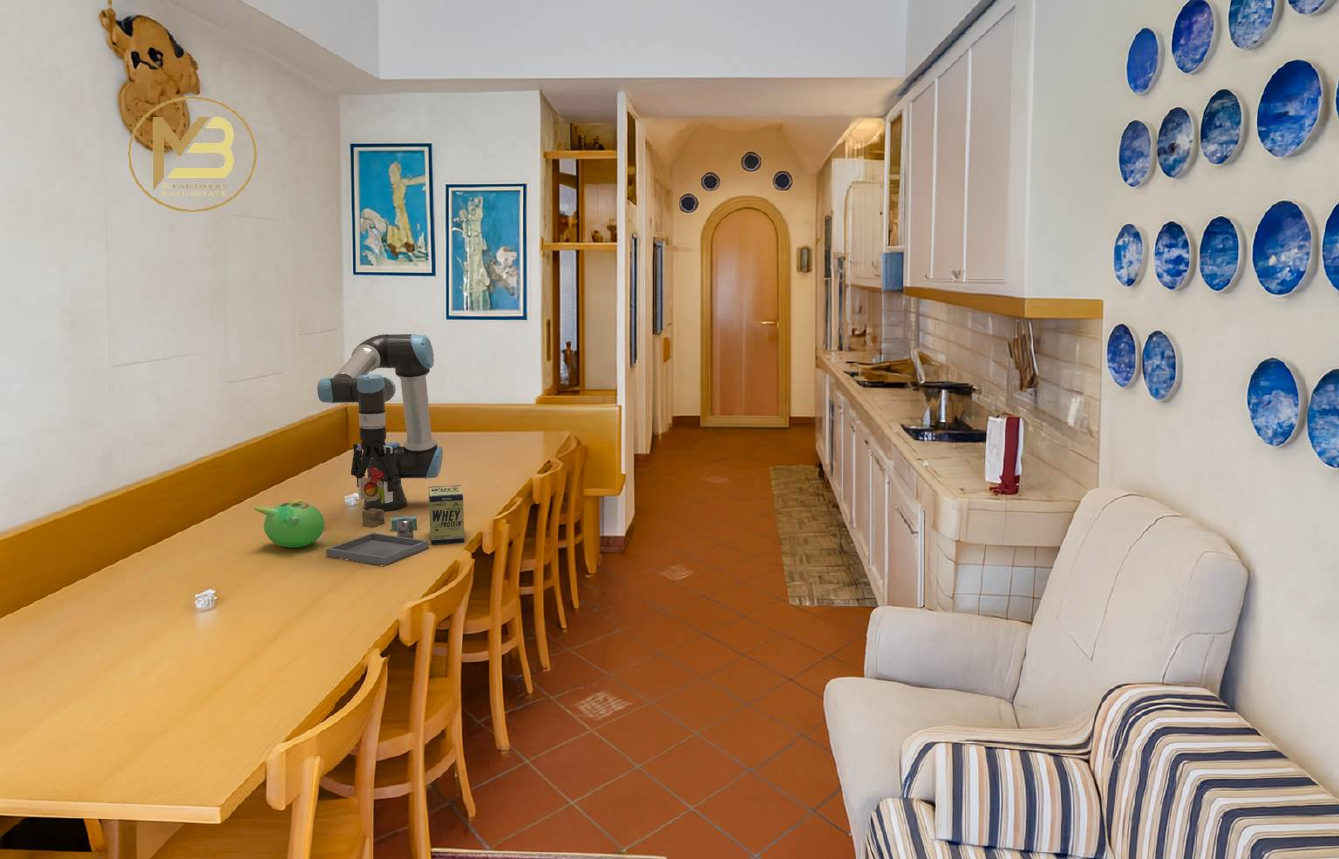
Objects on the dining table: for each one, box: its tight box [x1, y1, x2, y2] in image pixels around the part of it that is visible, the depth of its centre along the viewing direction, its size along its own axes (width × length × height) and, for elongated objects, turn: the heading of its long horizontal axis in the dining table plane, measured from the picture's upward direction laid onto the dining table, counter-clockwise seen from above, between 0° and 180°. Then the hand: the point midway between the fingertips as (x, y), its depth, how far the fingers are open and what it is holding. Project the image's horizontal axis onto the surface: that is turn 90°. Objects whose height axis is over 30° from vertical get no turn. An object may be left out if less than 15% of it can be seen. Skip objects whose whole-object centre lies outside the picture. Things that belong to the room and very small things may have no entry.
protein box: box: [428, 485, 465, 545], centre depth 304 cm, size 10×16×16 cm
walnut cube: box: [361, 508, 385, 528], centre depth 319 cm, size 5×5×5 cm
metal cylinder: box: [396, 519, 415, 539], centre depth 303 cm, size 5×5×6 cm
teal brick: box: [390, 515, 418, 532], centre depth 314 cm, size 4×8×4 cm, turn 106°
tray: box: [325, 532, 430, 567], centre depth 287 cm, size 20×22×2 cm
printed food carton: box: [361, 468, 385, 504], centre depth 284 cm, size 6×11×9 cm
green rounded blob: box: [253, 497, 325, 549], centre depth 292 cm, size 18×17×15 cm
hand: (376, 500), depth 285 cm, fingers closed on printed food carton, 9 cm apart
